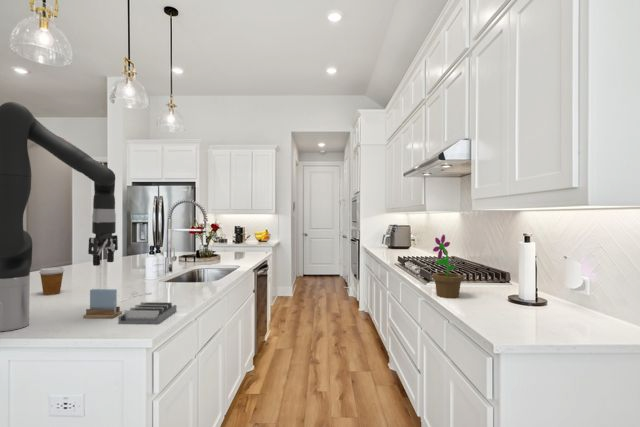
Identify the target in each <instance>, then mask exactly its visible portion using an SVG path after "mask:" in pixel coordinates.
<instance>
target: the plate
mask: <svg viewBox="0 0 640 427" xmlns="http://www.w3.org/2000/svg"><path fill="white" fill-rule="evenodd" d="M117 291H118V289H115V288H114V289H113V288H92V289H90V290H89V309H114V314H115V313H116V307H117V304H118V303H117V302H118V301H117V296H118V293H117Z"/></svg>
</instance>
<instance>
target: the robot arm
mask: <svg viewBox="0 0 640 427" xmlns="http://www.w3.org/2000/svg"><path fill="white" fill-rule="evenodd" d="M28 140H29V141H31V142H33V143H34V144H36V145H38V146H39V147H42V148H43V149H44V150H46V151H47V152H49V153H50V154H52V156H54V157H55V158H57V159H58V160H59V161H61V162H62V163H64V164H66V165H67V166H68V167H69V168H72V169H74V171H76V172H78V173H80V174H83V175H84V176H85V177H87V178H88V179H89V180H91V181H93V185H94V187H93V188H94V195H93V199H92V200H93V203H92V206H93V208H92V216H91V217H92V218H91V219H92V223H91V233H92V234H94V235H95V237H89V238H88V250H87V253H88V255H91V256H92V265H93V266H95V267H99V266H101V253H102V251H103V250H104V249H105V251H106V252H107V253H106V261H107V262H106V263H113V262H115V252H116V251H118V249H119V244H118V235H117V234H115V233H116V230H117V229H116V227H117V225H116V220H117V219H116V218H117V215H116V197H115V192H116V191H115V188H116V187H115V186H116V174H115V172H114V170H112V169H110V168H109V167H108V166H106V165H104V164H103V163H101V162H99V161H97V160H96V159H94V157H91V156H90V155H89V154H87V153H86V152H85V151H83V150H81V149H80V148H79V147H77V146H76V145H74V144H72V143H71V142H68V140H65V139H64V138H62V137H61V136H58V135H57V134H55V133H53V132H52V131H51V130H49V129H48V128H47V127H46V126H44V125H43V123H41V122H40V121H39V120H37V118H35V116H34V115H33V114H32V112H31V111H30V110H29V109H28V108H27V107H26V106H25V105H23V104H22V103H18V102H16V101H15V102H14V101H8V102H4V103H2V104H1V105H0V332H5V331H6V332H7V331H14V330H18V329H22V328H25V327H27V326H29V325H30V283H31V282H30V278H31V277H30V274H31V273H30V271H31V267H32V262H33V238H32V236H31V235H30V233H28V232H27V231H26V230H25V229H24V213H25V210H26V207H27V204H28V202H29V198H30V196H31V190H32V166H31V165H32V164H31V161H30V155H29V151H28V150H29V149H28Z"/></svg>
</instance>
